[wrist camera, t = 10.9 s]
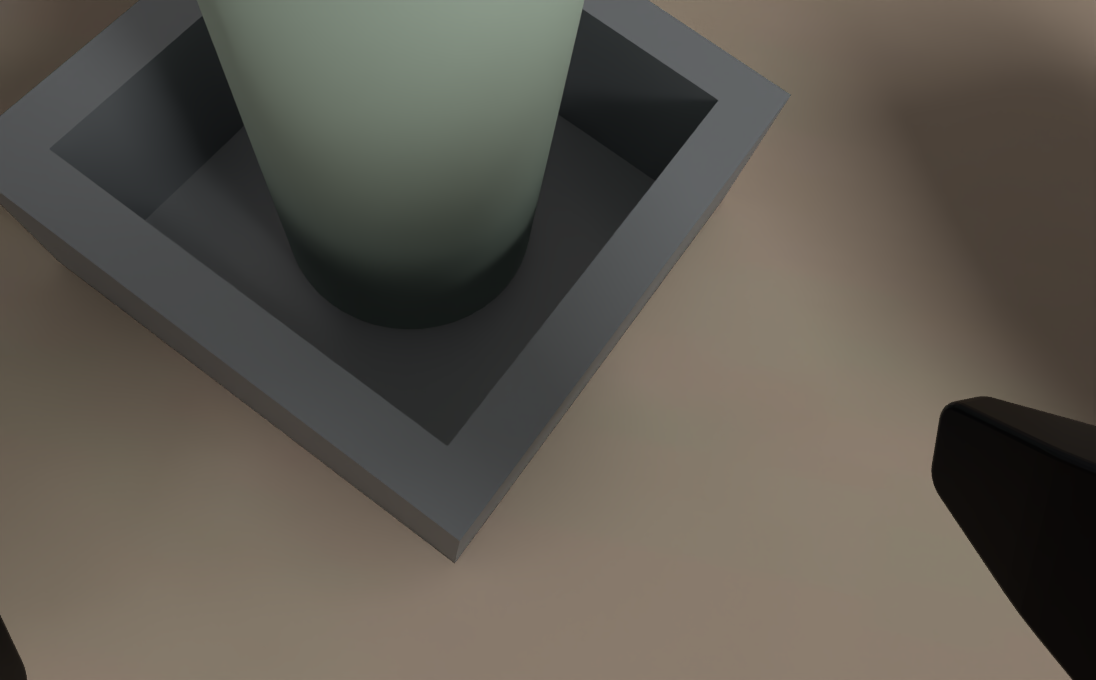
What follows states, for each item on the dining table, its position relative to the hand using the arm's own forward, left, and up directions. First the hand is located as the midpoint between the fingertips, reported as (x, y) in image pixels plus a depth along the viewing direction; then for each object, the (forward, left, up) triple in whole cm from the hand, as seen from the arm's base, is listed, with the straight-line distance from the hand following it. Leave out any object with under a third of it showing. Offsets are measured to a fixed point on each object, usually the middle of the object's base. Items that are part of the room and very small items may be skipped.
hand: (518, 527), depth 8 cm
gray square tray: (+6, -5, -9) cm, 11 cm away
